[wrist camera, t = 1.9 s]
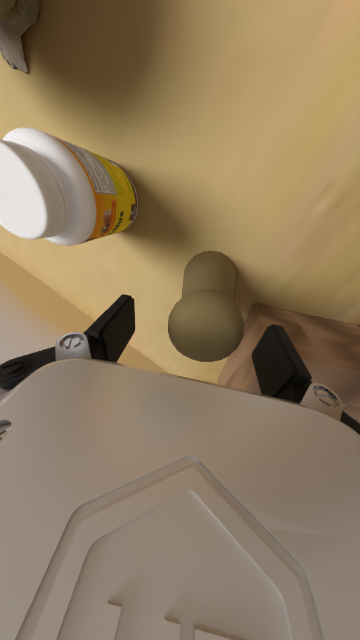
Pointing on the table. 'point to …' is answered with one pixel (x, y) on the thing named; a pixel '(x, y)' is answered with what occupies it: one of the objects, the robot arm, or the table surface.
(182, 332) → the olive pear shape
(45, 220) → the supplement bottle
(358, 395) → the brown square frame
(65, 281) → the table surface
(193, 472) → the robot arm
